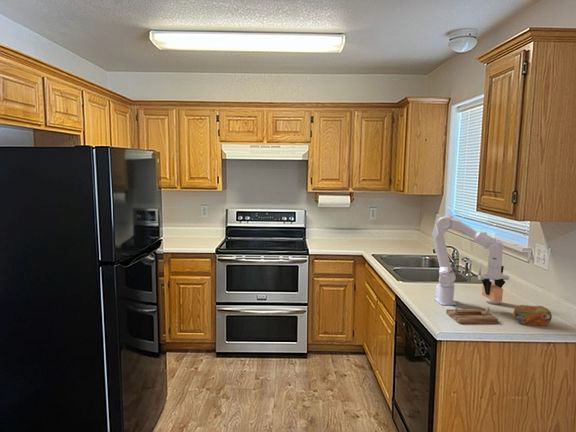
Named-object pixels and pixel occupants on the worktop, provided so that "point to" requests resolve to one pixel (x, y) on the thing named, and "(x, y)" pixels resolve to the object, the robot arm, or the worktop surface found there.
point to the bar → (494, 293)
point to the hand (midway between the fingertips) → (491, 294)
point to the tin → (532, 315)
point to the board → (471, 316)
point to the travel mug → (494, 284)
